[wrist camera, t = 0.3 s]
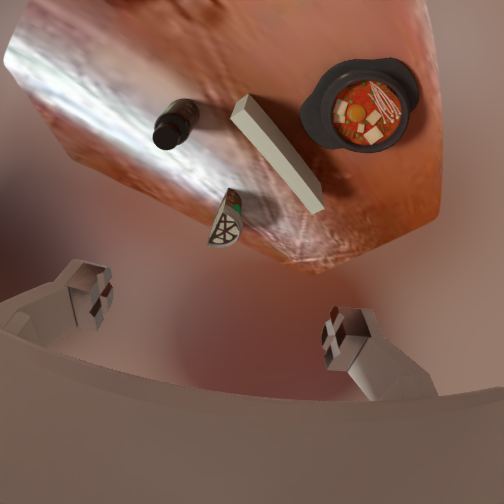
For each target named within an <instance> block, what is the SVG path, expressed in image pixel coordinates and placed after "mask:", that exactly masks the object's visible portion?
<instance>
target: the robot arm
mask: <svg viewBox="0 0 504 504" xmlns="http://www.w3.org/2000/svg"><path fill="white" fill-rule="evenodd" d="M111 278H112V275H111V269H110V268H109V267H107V266H102V265H98V264H94V263H90V262H85V261H81V260H77V259H74V260H72V261H71V262H70V264H69V265H68V266H67V267H66V268H65V269H64V270H63V272H62V273H61V274H60V275H59V276H58V277H57V278H56V280H55V281H54V282H53V283H52V282H48V283H46V284H43V285H41V286H39V287H36V288H34V289H31V290H29V291H27V292H24V293H22V294H20V295H17V296H15V297H13V298H10V299H8V300H6V301H4V302H2V303H0V504H504V387H493V388H488V389H483V390H478V391H472V392H467V393H460V394H453V395H445V396H438V393H437V391H436V388H435V386H434V384H433V381H432V379H431V377H430V374H428V373H427V372H426V371H425V370H424V369H423V368H422V367H420V366H419V365H418V364H417V363H416V362H415V361H413V360H412V359H411V358H410V357H409V356H407V355H406V354H405V353H404V352H403V351H402V350H400V349H399V348H398V347H397V346H396V345H394V344H393V343H392V342H391V341H390V340H389V339H385V338H384V336H383V334H382V331H381V329H380V326H379V324H378V322H377V319H376V317H375V315H374V313H373V311H372V310H371V309H362V308H361V309H360V308H359V309H357V308H348V307H341V306H334V307H333V308H332V309H331V312H330V318H331V319H330V320H329V321H328V322H326V323H325V325H324V327H323V330H322V336H321V342H322V347H323V348H324V349H325V350H326V351H327V352H326V354H325V355H324V358H325V362H326V367H327V370H338V371H348V374H349V375H350V376H351V377H352V378H353V380H354V381H355V382H356V383H357V385H358V386H359V387H360V388H361V390H362V391H363V392H364V393H365V395H366V396H367V397H368V398H369V400H370V401H358V402H336V401H305V400H288V399H274V398H264V397H254V396H246V395H237V394H229V393H223V392H216V391H209V390H203V389H197V388H192V387H186V386H181V385H176V384H171V383H166V382H161V381H157V380H152V379H148V378H143V377H140V376H135V375H131V374H128V373H124V372H120V371H117V370H113V369H109V368H106V367H102V366H99V365H95V364H93V363H89V362H86V361H83V360H80V359H77V358H74V357H71V356H68V355H65V354H62V353H59V352H57V351H54V350H51V349H48V347H49V346H51V345H52V344H54V343H55V342H57V341H58V340H60V339H61V338H62V337H64V336H65V335H67V334H68V333H70V332H71V331H73V330H74V329H76V328H77V326H78V327H82V328H85V329H89V330H94V331H98V328H99V327H100V325H101V323H102V322H103V320H104V318H103V313H106V312H108V311H109V308H110V307H111V304H112V300H113V287H112V285H111V284H110V282H109V280H110V279H111Z"/></svg>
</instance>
